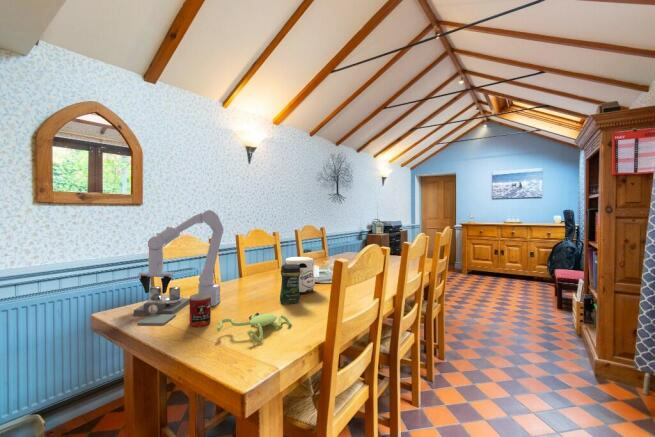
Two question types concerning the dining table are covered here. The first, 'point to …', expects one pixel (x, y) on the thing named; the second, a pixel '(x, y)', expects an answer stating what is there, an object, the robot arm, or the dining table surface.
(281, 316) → the figurine
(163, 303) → the scale housing
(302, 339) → the dining table surface
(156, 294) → the steel weight
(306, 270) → the milk container
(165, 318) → the rubber mat
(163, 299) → the scale pan
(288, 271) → the coffee jar
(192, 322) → the canned food
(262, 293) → the dining table surface
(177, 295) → the block
